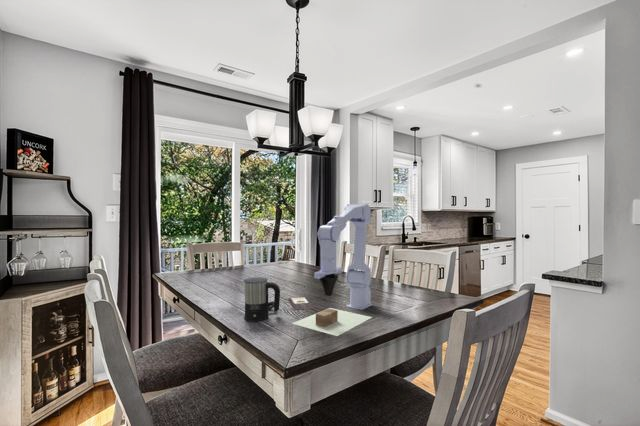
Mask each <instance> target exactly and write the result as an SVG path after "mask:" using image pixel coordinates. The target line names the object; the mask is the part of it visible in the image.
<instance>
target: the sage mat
mask: <svg viewBox="0 0 640 426" xmlns="http://www.w3.org/2000/svg"><path fill="white" fill-rule="evenodd" d="M327 309H333V310H338V321H337V322H335V323H333V324H331V325H329V326H327V327H321V326H318V325H316V314H317V313H319V312H320V311H319V312H316V313H314V314H311V315H309V316H307V317H303V318H301V319H299V320H296V321H294V322H292V323H291V324H292V325H295V326H299V327H302V328H305V329H310V330H313V331H317V332H321V333H325V334H327V335H331V336H336V337H338V336H340V335H342V334H344V333H347V332H348V331H350V330H352V329H354V328H355V327H357V326H359V325H361V324H363V323H365V322H366V321H368V320H370V319H372V318H373V317H372V316H369V315H364V314H359V313H355V312H350V311H345V310H341V309H337V308H332V307H328V308H327ZM322 311H324V310H322Z"/></svg>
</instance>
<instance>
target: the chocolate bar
mask: <svg viewBox="0 0 640 426" xmlns="http://www.w3.org/2000/svg"><path fill="white" fill-rule="evenodd" d="M288 301H289V303H290V305H291V307H292V308H293V310H294V311H302V310H303V311H304V310H312V309H313V310H316V309H317V307H316V306H315V305H314V303H313V302H312V301H311V300H310V299H309V297H307V296H306V297H305V296H304V297H289V298H288Z"/></svg>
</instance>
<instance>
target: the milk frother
mask: <svg viewBox="0 0 640 426" xmlns="http://www.w3.org/2000/svg"><path fill="white" fill-rule="evenodd" d="M243 282H244V317H243V319H244V320H245V321H248V322H258V321H259V322H261V321H264V320H267V318H269V312H270V311H271V310H272V309H273V311H274V312H278V311H279V310H280V302H281V301H280V299H281V289H280V286H279V285H278V284H277V283H276V282H272V281H271V282H269V279H268V277H260V276H257V277H248V278H245V279H243ZM269 289H271V290H273V291H274V300H273V301H269Z"/></svg>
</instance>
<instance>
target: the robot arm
mask: <svg viewBox="0 0 640 426" xmlns="http://www.w3.org/2000/svg"><path fill="white" fill-rule="evenodd" d="M371 213H372V211H371V208H370V206H369V204H367V203H365V204H364V203H363V204H360V203H359V204H358V203H357V204H349V203H347V204H346V205H345V206H344V210H343V212H342V213H341V214H340V215H334V216H333V218H332V219H331V220H330V221H328V222H327V224H322V225H321V226H319V228H318V229H317V230H318V231H317V233H316V235H317V239H318V243H319V246H320V269H319V270H318V271H316V272H314V273H313V276H314V277H313V278H314V279H316V280H320V282H321V285H322V288H323V291H324V295H325V296H327V297H331V296H332V295H333V291H334V287H335V285H336V282H337V280H338V278H339V276H338V275H337V274H341V273H342V271H343V270H342V267H340V266H339V267H338V266H337V241H339V239H340V235H341V232H342V231H343V230H344V229H345V228H346V227H347V223H348V222H350V224H352V225H353V226H354V229H355V230H354V245H353V259H352V261H353V262H352V263H351V264H349V265H347V270H346V274H345V281H346V283H347V284H348V286H349V288H350V289H349V304H346V305H345V306H346V307H347V308H350V309H351V308H353V309H356V310H361V311H362V310H365V309H367V308H369V307H371V306H373V303H372V302H371V300H372V299H371V298H372V297H371V296H372V295H371V294H372V293H371V288H370V284H371V283H372V273H371V267H370V266H369V265H368V264H366V247H367V235H368V234H367V230H368V225H370V223H371V215H372V214H371Z"/></svg>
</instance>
